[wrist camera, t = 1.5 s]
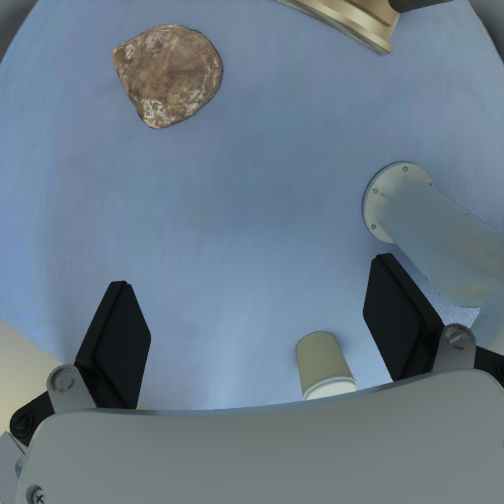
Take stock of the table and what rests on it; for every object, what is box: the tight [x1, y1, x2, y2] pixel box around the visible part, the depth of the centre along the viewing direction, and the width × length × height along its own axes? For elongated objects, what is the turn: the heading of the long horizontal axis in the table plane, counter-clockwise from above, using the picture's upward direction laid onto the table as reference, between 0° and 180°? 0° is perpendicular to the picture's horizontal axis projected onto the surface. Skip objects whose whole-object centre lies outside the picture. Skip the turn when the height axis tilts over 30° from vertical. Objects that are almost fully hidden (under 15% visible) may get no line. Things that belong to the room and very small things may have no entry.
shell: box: [112, 24, 223, 129], centre depth 27 cm, size 12×13×4 cm
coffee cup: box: [296, 332, 357, 401], centre depth 48 cm, size 9×9×12 cm
